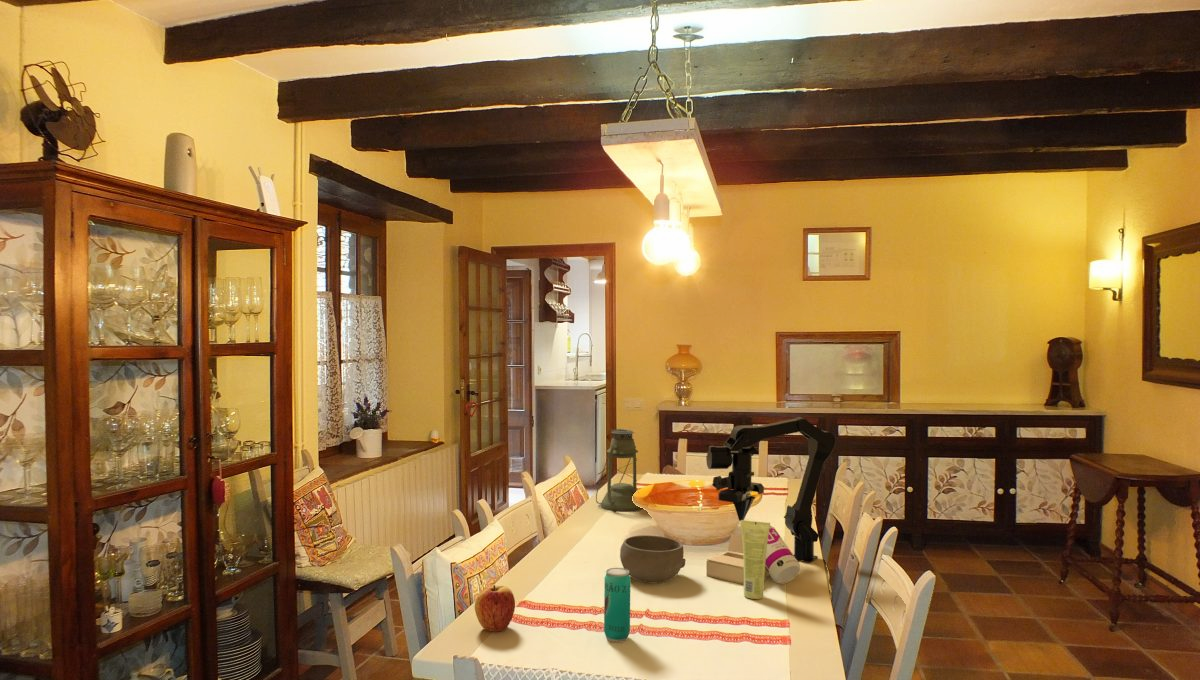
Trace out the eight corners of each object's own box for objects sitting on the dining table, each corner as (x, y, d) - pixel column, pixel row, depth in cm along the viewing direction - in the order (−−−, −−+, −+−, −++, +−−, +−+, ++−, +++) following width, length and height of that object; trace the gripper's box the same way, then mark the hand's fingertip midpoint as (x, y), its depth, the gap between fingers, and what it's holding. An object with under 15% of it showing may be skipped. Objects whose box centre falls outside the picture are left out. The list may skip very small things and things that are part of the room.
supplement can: (803, 560, 203) (774, 519, 214) (776, 570, 201) (748, 527, 212) (799, 579, 208) (771, 537, 219) (773, 588, 206) (746, 546, 217)
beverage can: (602, 633, 172) (603, 567, 172) (628, 633, 172) (628, 566, 172) (605, 644, 166) (605, 575, 166) (631, 643, 167) (632, 575, 166)
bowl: (691, 573, 216) (692, 538, 216) (670, 592, 200) (671, 554, 200) (635, 564, 223) (635, 530, 223) (610, 582, 207) (610, 545, 207)
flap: (727, 550, 223) (728, 550, 223) (771, 559, 215) (771, 559, 215) (731, 533, 225) (731, 533, 225) (774, 541, 216) (774, 541, 217)
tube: (757, 591, 201) (758, 517, 201) (769, 597, 196) (770, 522, 196) (739, 594, 198) (740, 519, 198) (751, 601, 194) (752, 524, 194)
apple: (480, 639, 168) (480, 594, 168) (470, 624, 176) (470, 581, 176) (519, 633, 172) (520, 589, 172) (508, 619, 180) (508, 577, 180)
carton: (726, 565, 223) (726, 549, 223) (771, 575, 215) (771, 558, 215) (706, 575, 214) (706, 559, 213) (752, 586, 205) (752, 569, 205)
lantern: (626, 514, 284) (627, 434, 284) (587, 508, 294) (588, 430, 294) (653, 504, 301) (654, 428, 301) (616, 498, 311) (616, 425, 311)
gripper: (732, 461, 240) (731, 511, 240) (702, 469, 225) (702, 522, 225) (764, 465, 233) (764, 516, 234) (736, 474, 218) (736, 528, 219)
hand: (741, 520), depth 228 cm, fingers closed
